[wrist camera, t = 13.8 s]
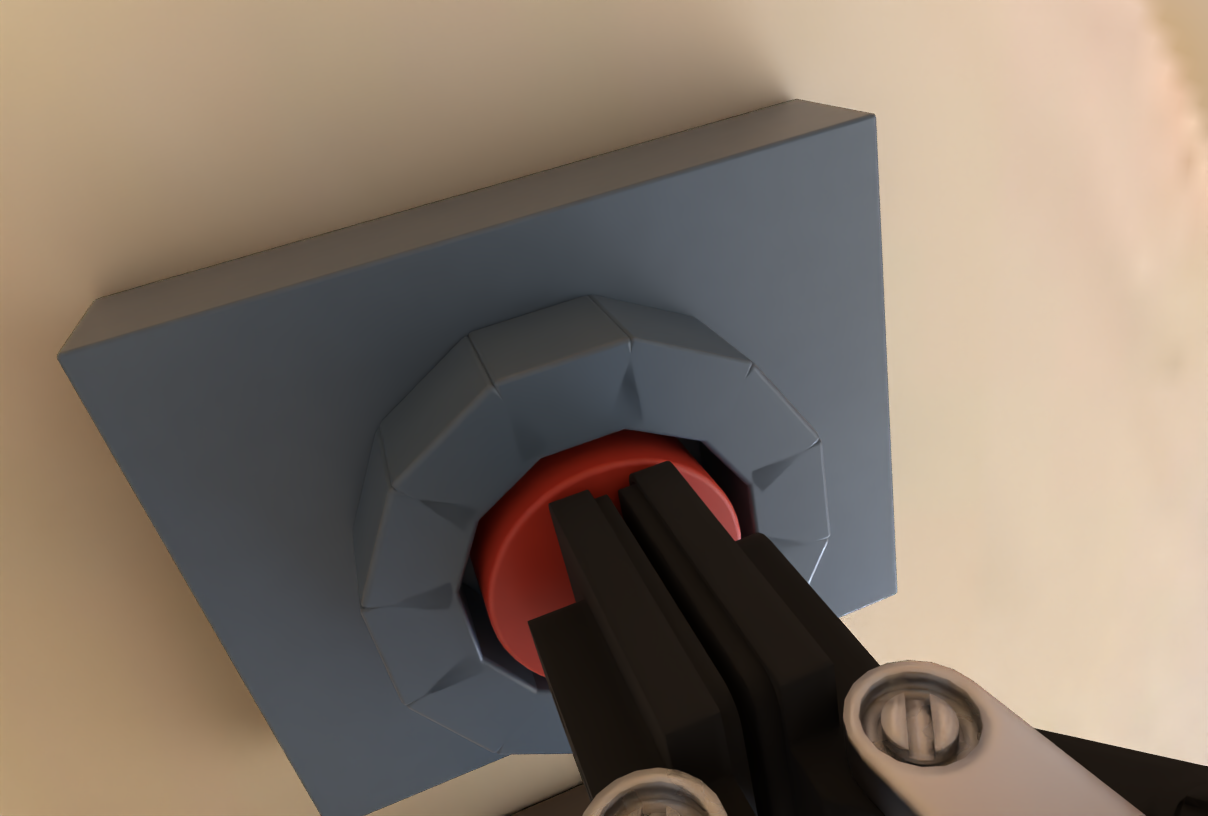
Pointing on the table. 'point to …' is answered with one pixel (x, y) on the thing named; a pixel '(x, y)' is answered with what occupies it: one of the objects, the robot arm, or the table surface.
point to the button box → (498, 418)
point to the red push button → (527, 535)
